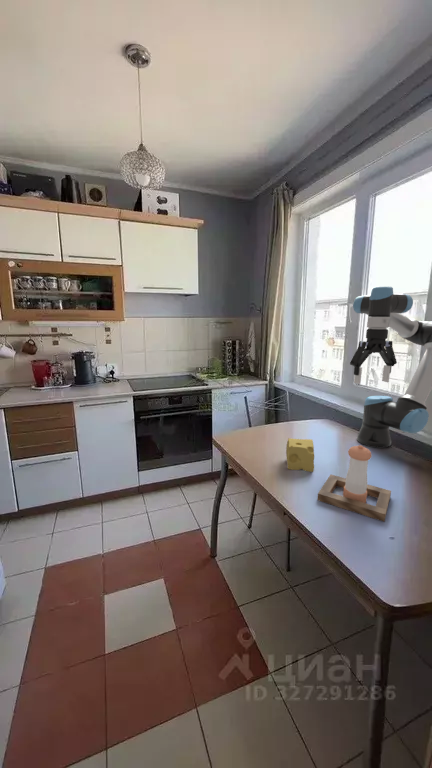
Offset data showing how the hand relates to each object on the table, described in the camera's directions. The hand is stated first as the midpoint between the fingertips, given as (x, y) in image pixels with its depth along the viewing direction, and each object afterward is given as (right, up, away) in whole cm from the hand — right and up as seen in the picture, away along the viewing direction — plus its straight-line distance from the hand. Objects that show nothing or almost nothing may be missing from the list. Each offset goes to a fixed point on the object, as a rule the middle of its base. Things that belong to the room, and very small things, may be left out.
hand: (371, 382), depth 126 cm
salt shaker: (-15, -39, -19) cm, 47 cm away
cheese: (-28, -34, +5) cm, 44 cm away
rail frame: (-15, -39, -19) cm, 47 cm away
